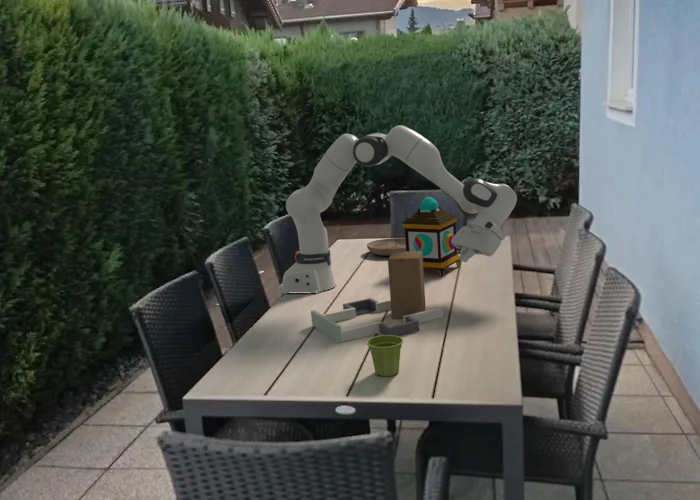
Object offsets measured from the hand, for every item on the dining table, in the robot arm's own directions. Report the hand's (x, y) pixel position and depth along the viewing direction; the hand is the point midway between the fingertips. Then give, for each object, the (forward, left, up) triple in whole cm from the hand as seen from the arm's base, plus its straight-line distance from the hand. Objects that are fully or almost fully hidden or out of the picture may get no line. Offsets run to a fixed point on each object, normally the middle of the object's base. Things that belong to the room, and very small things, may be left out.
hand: (461, 260), depth 230 cm
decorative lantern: (-8, +45, -14) cm, 48 cm away
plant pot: (-25, -58, -14) cm, 65 cm away
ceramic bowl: (-24, +80, -15) cm, 84 cm away
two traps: (-28, -16, -14) cm, 36 cm away
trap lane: (-28, -16, -14) cm, 36 cm away
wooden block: (-19, -11, -14) cm, 26 cm away
